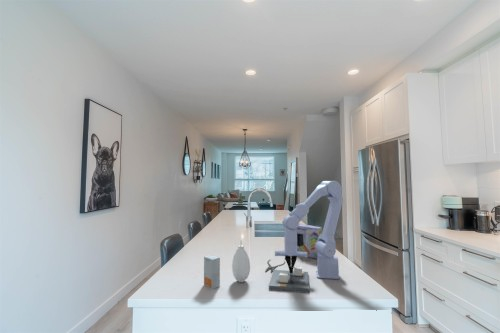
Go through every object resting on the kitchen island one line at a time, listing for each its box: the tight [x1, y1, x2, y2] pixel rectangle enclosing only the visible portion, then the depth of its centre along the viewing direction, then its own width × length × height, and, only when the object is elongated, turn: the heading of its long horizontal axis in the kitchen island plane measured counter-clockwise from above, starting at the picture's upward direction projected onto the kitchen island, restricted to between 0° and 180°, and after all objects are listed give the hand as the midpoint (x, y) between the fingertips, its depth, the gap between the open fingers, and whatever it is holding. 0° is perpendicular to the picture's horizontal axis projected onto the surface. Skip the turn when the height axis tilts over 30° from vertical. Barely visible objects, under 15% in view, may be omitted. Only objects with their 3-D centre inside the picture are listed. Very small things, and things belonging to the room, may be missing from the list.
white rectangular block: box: [279, 272, 288, 283], centre depth 108 cm, size 4×3×3 cm
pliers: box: [264, 259, 286, 274], centre depth 133 cm, size 10×1×20 cm
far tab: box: [293, 265, 303, 276], centre depth 116 cm, size 4×3×3 cm
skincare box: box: [203, 254, 221, 290], centre depth 108 cm, size 6×4×12 cm
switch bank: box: [268, 269, 310, 293], centre depth 112 cm, size 16×19×2 cm
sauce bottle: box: [231, 241, 251, 283], centre depth 113 cm, size 8×8×18 cm
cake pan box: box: [297, 223, 323, 260], centre depth 152 cm, size 19×5×18 cm, turn 37°
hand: (291, 272), depth 117 cm, fingers closed
